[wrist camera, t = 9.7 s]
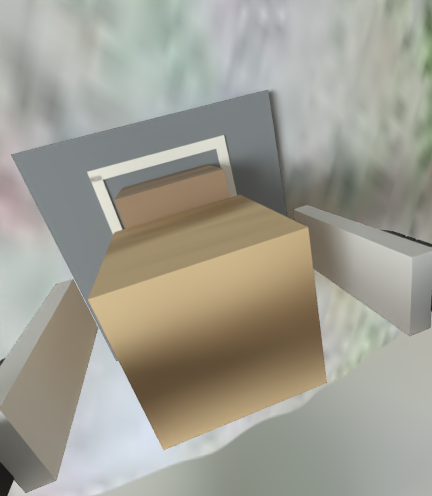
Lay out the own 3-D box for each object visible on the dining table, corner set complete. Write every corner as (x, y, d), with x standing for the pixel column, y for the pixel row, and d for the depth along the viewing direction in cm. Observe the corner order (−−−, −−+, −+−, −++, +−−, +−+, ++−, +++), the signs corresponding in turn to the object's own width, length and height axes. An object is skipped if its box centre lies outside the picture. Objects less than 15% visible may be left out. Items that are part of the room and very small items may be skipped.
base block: (122, 188, 15) (114, 200, 12) (206, 164, 16) (223, 168, 12) (165, 304, 18) (170, 342, 15) (235, 280, 19) (255, 311, 15)
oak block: (114, 232, 12) (87, 299, 7) (239, 194, 13) (308, 227, 7) (157, 336, 14) (163, 449, 9) (261, 298, 15) (326, 382, 10)
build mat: (16, 154, 14) (10, 154, 14) (263, 91, 16) (268, 89, 15) (117, 355, 20) (116, 362, 19) (294, 291, 21) (299, 295, 21)
